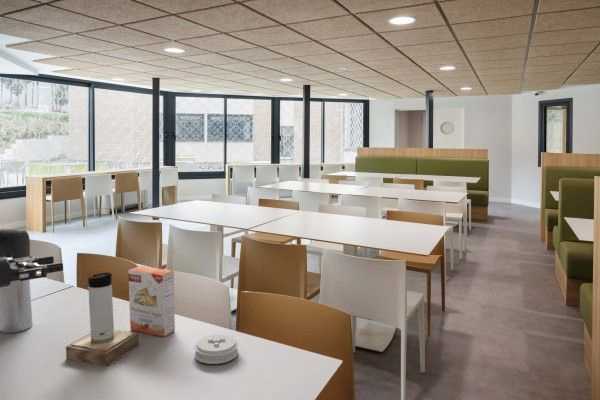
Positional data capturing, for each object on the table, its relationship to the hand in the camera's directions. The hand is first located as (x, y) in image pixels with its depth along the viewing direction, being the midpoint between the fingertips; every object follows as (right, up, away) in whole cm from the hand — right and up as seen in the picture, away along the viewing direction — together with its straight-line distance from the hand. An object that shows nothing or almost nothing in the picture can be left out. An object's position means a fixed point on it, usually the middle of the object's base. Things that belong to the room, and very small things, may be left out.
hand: (57, 262), depth 122 cm
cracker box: (+17, -26, +26) cm, 41 cm away
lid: (+42, -29, +10) cm, 52 cm away
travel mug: (+8, -24, +10) cm, 28 cm away
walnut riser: (+8, -28, +11) cm, 31 cm away
